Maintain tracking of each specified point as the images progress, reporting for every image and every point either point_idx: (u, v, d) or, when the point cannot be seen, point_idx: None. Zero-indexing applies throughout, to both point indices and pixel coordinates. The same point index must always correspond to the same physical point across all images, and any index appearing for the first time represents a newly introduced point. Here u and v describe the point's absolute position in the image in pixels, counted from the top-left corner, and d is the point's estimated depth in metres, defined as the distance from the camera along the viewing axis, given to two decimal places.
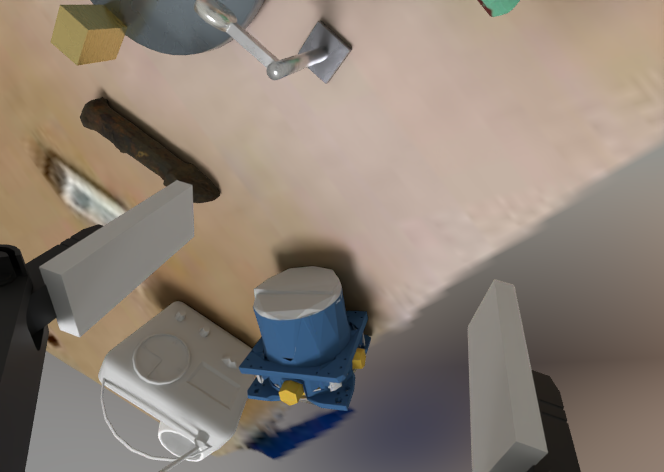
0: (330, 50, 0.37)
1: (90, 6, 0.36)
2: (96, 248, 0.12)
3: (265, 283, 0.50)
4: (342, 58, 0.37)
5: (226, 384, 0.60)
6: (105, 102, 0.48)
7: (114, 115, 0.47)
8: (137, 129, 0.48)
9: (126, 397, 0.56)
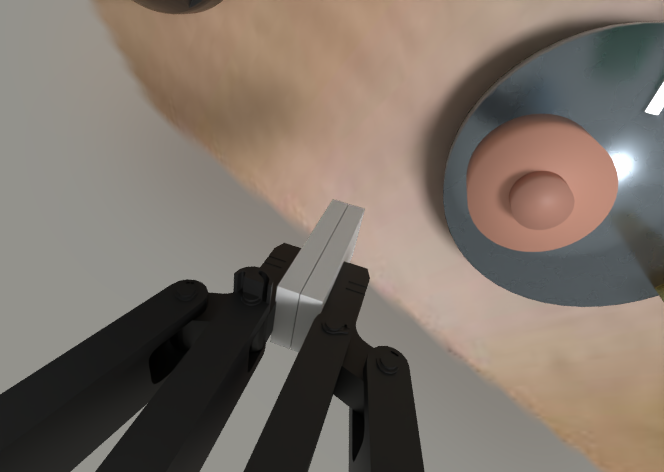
0: None
1: None
2: (310, 267, 0.13)
3: None
4: None
5: None
6: None
7: None
8: None
9: None
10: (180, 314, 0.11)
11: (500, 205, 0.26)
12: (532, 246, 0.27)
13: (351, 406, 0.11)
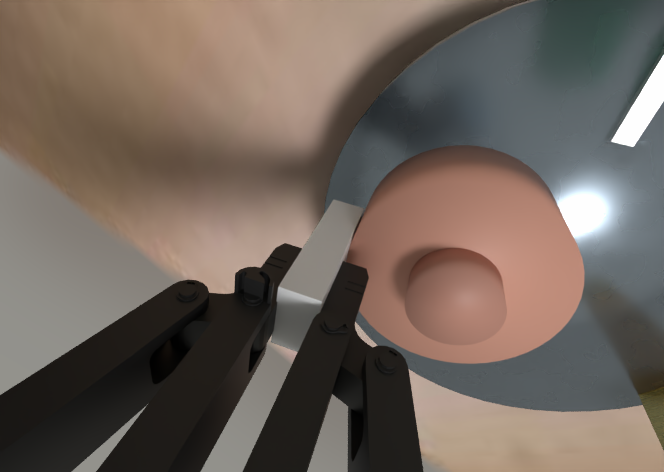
0: None
1: (657, 424, 0.19)
2: (311, 268, 0.13)
3: None
4: None
5: None
6: None
7: None
8: None
9: None
10: (181, 314, 0.11)
11: (397, 295, 0.16)
12: (455, 355, 0.17)
13: (350, 406, 0.11)
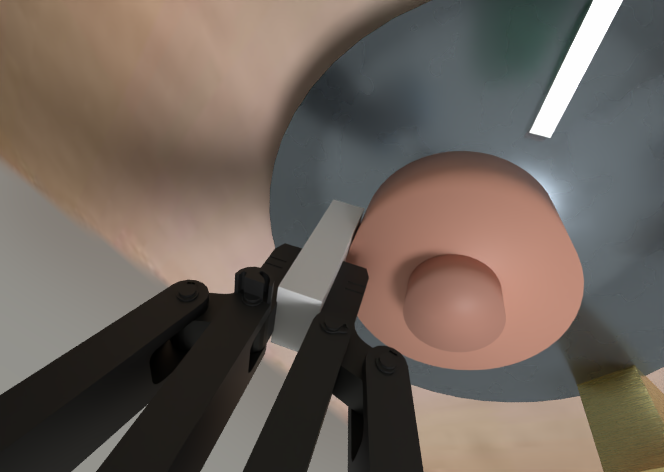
0: None
1: (590, 413, 0.19)
2: (310, 268, 0.13)
3: None
4: None
5: None
6: None
7: None
8: None
9: None
10: (181, 314, 0.11)
11: (396, 300, 0.16)
12: (452, 362, 0.17)
13: (350, 406, 0.11)
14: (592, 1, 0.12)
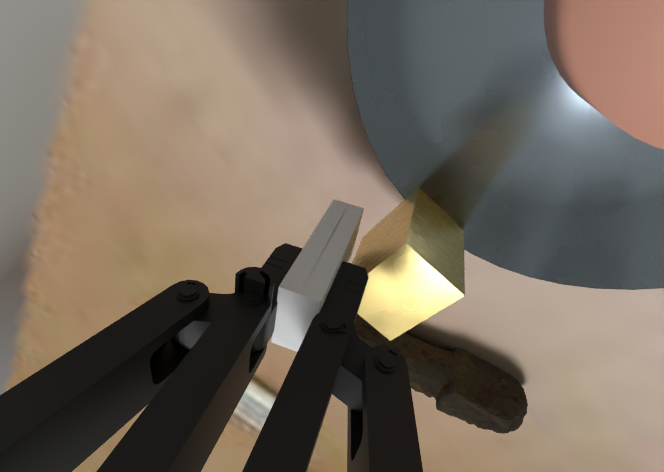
0: None
1: (418, 208, 0.16)
2: (311, 268, 0.13)
3: None
4: None
5: None
6: None
7: None
8: (360, 319, 0.27)
9: None
10: (181, 315, 0.11)
11: None
12: (594, 0, 0.09)
13: (349, 406, 0.11)
14: None
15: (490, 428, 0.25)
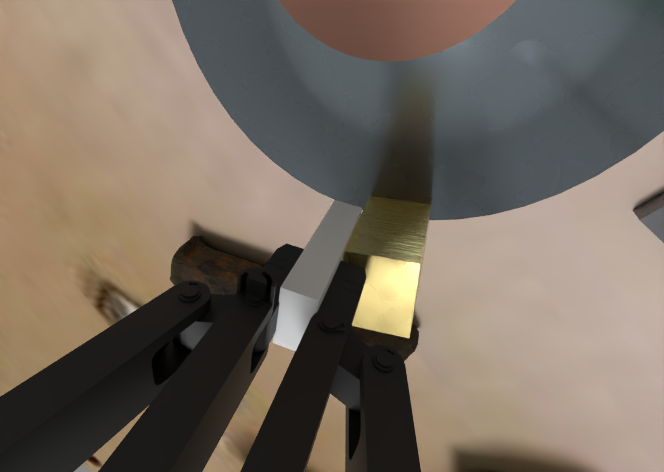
0: None
1: (366, 213, 0.17)
2: (313, 268, 0.13)
3: None
4: None
5: None
6: (199, 242, 0.29)
7: (218, 258, 0.28)
8: (257, 267, 0.28)
9: None
10: (183, 315, 0.11)
11: None
12: (304, 8, 0.12)
13: (347, 405, 0.11)
14: None
15: None
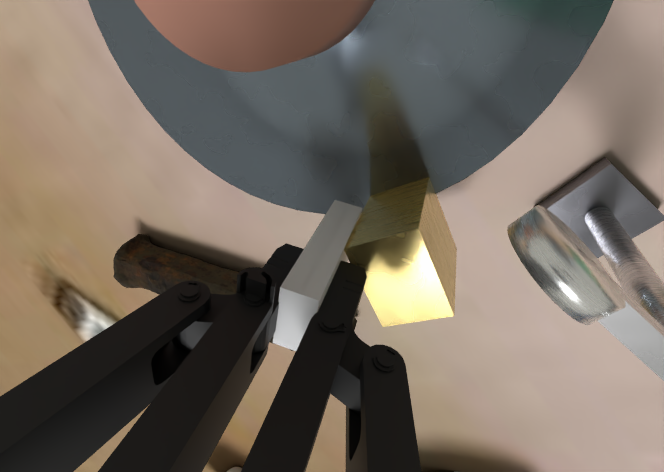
0: (621, 213, 0.19)
1: (366, 211, 0.17)
2: (312, 268, 0.13)
3: None
4: (643, 229, 0.19)
5: None
6: (143, 240, 0.30)
7: (160, 254, 0.29)
8: (198, 262, 0.29)
9: None
10: (183, 315, 0.11)
11: None
12: (214, 52, 0.13)
13: (348, 405, 0.11)
14: None
15: None
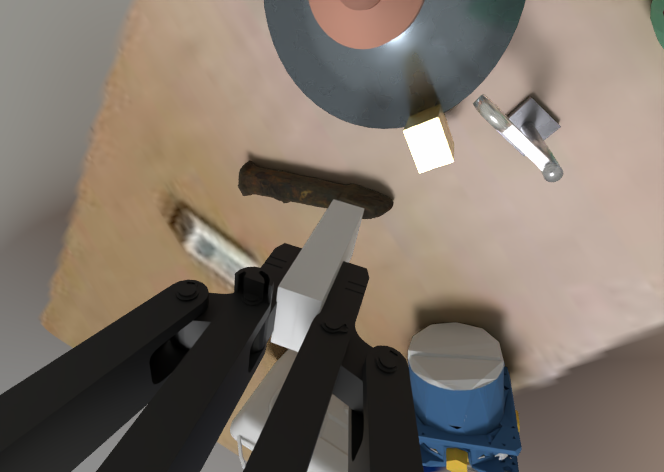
0: (538, 125, 0.36)
1: (409, 120, 0.34)
2: (310, 268, 0.13)
3: (416, 343, 0.49)
4: (550, 133, 0.36)
5: None
6: (253, 164, 0.47)
7: (266, 170, 0.46)
8: (290, 174, 0.46)
9: None
10: (181, 314, 0.11)
11: None
12: (349, 40, 0.30)
13: (350, 406, 0.11)
14: None
15: (365, 216, 0.43)
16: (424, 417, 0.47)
